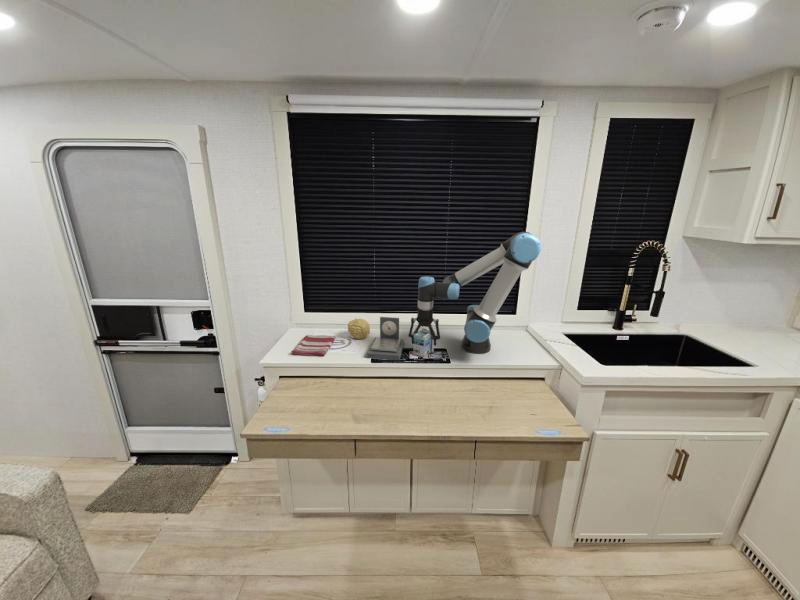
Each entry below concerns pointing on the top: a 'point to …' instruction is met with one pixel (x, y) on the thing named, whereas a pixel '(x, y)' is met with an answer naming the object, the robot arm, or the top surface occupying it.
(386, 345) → the pan
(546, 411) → the top surface
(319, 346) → the dish towel
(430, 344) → the light bulb box
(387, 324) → the scale base
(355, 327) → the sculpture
